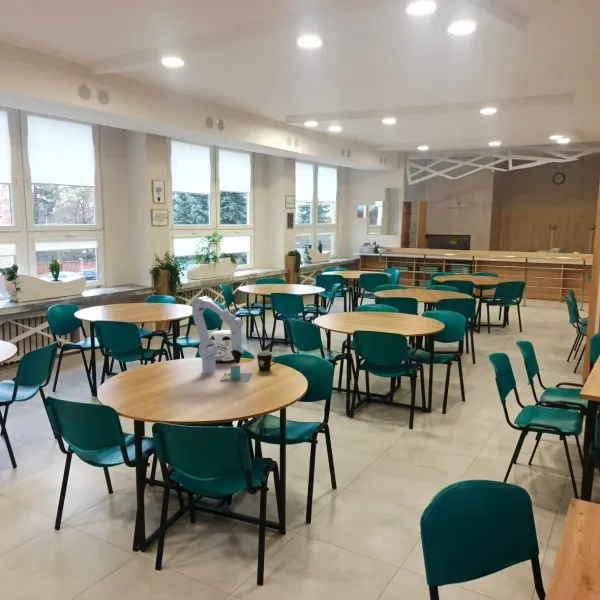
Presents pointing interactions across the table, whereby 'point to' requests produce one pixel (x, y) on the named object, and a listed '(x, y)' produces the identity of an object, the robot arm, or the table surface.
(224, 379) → the turner
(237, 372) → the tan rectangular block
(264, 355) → the coffee mug
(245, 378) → the mat
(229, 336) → the milk container
